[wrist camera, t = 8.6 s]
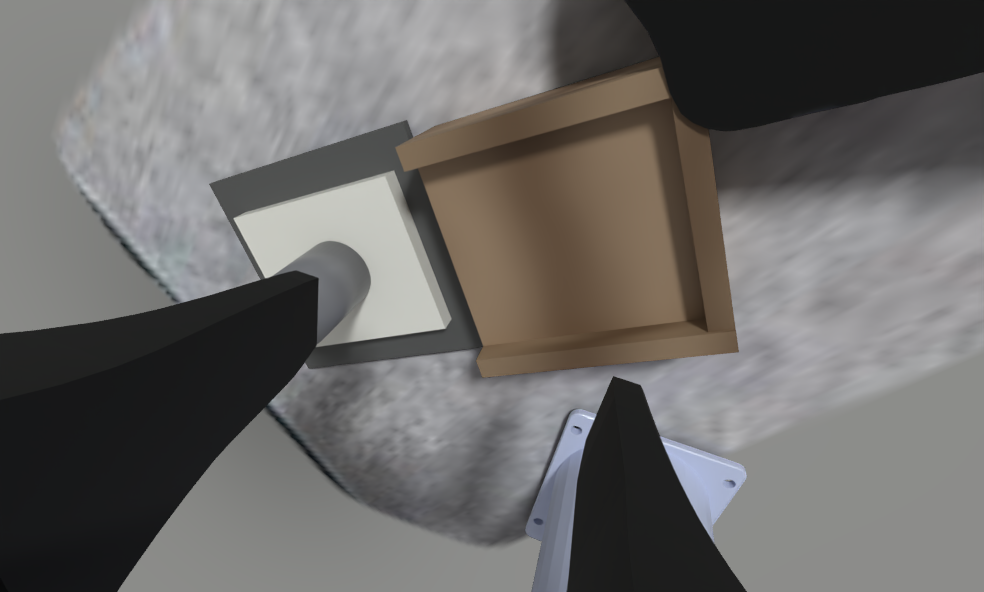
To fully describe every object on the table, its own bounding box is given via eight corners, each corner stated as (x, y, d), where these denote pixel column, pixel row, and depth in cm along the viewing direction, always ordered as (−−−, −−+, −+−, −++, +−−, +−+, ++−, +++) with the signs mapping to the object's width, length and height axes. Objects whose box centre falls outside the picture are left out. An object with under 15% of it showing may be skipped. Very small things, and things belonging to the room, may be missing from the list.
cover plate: (393, 170, 20) (336, 206, 16) (451, 319, 23) (413, 377, 19) (245, 212, 23) (169, 250, 19) (312, 340, 26) (256, 394, 22)
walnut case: (690, 47, 16) (698, 55, 13) (725, 299, 19) (738, 351, 16) (434, 126, 19) (395, 147, 16) (504, 329, 23) (482, 377, 20)
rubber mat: (407, 120, 19) (402, 122, 19) (487, 341, 23) (484, 346, 23) (215, 181, 23) (209, 184, 23) (313, 364, 27) (308, 368, 27)
